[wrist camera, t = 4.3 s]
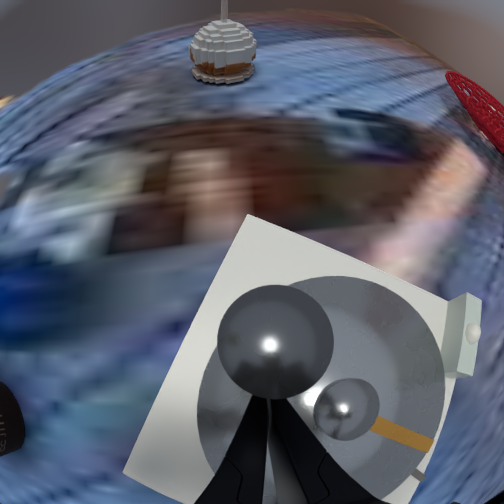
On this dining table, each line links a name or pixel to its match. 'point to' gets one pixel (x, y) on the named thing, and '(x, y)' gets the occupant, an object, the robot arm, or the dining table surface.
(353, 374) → the turntable platter
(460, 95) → the bowl
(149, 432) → the base plate
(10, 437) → the coffee mug
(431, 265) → the dining table surface
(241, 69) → the decorative ornament
